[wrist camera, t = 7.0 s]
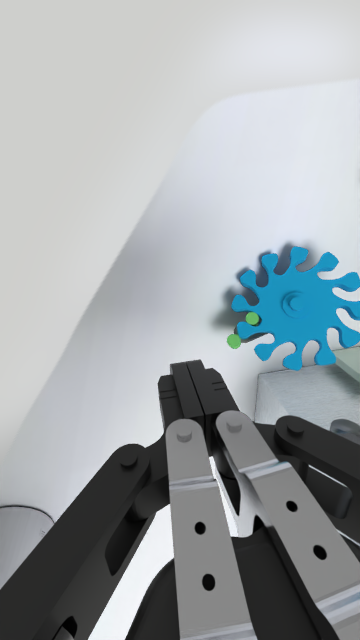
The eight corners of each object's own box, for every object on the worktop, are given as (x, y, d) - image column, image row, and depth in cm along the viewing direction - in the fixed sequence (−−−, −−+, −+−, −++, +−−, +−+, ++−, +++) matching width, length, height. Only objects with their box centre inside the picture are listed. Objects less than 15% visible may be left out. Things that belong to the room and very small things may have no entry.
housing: (251, 426, 32) (343, 589, 19) (256, 370, 28) (372, 521, 15) (334, 409, 33) (473, 549, 20) (348, 355, 30) (524, 479, 17)
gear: (327, 221, 22) (404, 335, 18) (312, 254, 27) (370, 346, 24) (200, 283, 23) (251, 396, 20) (211, 302, 29) (252, 393, 26)
